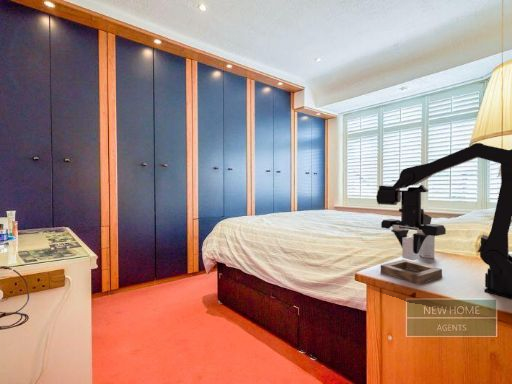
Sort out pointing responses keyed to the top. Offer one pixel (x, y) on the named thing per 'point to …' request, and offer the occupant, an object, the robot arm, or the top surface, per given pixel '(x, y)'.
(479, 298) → the top surface
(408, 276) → the square wooden frame
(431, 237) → the skincare box
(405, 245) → the steel square peg
